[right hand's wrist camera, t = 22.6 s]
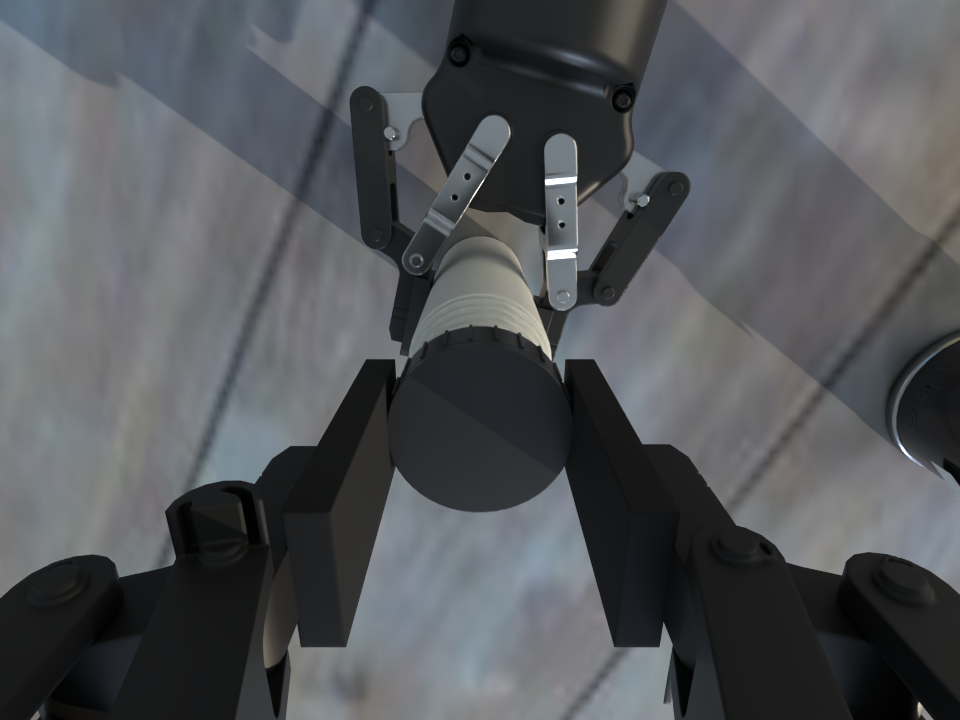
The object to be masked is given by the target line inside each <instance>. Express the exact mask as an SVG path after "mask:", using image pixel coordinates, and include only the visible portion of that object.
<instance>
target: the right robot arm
mask: <svg viewBox="0 0 960 720" xmlns="http://www.w3.org/2000/svg"><path fill="white" fill-rule="evenodd" d="M564 382H565V385H566V387H567V390H568V393H569V395H570V398H571V403H570V405H571V408H572V413H573V432H572V446H571V452H570V455H569V457H568V460H567V462H566V464H565V469H566V473H567V477H568V480H569V484H570V487H571V491H572V495H573V498H574V502H575V506H576V509H577V513H578V517H579V520H580V524H581V527H582V531H583V535H584V538H585V542H586V546H587V549H588V553H589V557H590V560H591V564H592V567H593V571H594V575H595V578H596V582H597V586H598V589H599V593H600V597H601V600H602V604H603V607H604V611H605V615H606V618H607V622H608V626H609V629H610V633H611V637H612V640H613V644H614V647H659V646H660V640H661V634H662V627H663V621H664V624H665V626H666V629H667V631H668V634H669V636H670V639H671V641H672V644H673V647H672V653H671V659H670V665H669V671H668V677H667V683H666V689H665V696H664V704H669V705H671V700H672V699H673V708H674V717H675V720H925V718H924V717H923V716H922V715H921V713H922V710H923V708H925V710H926V711H927V712H928V713H929V715H930V716H931V717H932V718H933V719H934V720H960V594H958V593H957V592H956V591H955V590H954V589H953V588H952V587H951V586H949V585H948V584H947V583H946V582H944V581H943V580H941V579H940V578H939V577H937V576H936V575H935V574H933V573H932V572H930V571H928V570H926V569H924V568H922V567H920V566H918V565H916V564H914V563H912V562H910V561H908V560H905V559H902V558H898V557H896V556H891V555H888V554H880V553H871V552H867V553H861V554H855V555H853V556H852V557H851V558H850V559H849V560H847V561H846V564H845V567H844V571H843V574H842V575H837V574H832V573H828V572H823V571H818V570H814V569H809V568H805V567H800V566H797V565H793V564H790V563H786V561H785V559H784V557H783V556H782V554H781V553H780V551H779V550H778V549H777V547H776V546H775V545H774V544H773V543H771V542H770V541H769V540H767V539H766V538H765V537H763V536H762V535H760V534H758V533H755V532H753V531H751V530H749V529H747V528H744V527H740V526H736V524H735V523H734V521H733V520H732V519H731V517H730V516H729V514H728V513H727V511H726V510H725V509H724V507H723V506H722V504H721V503H720V501H719V500H718V499H717V497H716V496H715V494H714V493H713V491H712V490H711V489H710V487H707V483H706V481H705V480H704V479H703V477H702V476H701V474H699V471H698V470H697V469H696V467H695V466H694V464H693V463H692V461H691V460H690V459H689V457H688V456H686V455H685V454H683V453H682V452H680V451H679V450H677V449H676V448H674V447H673V446H672V445H670V444H642V443H641V441H640V439H639V438H638V436H637V434H636V432H635V431H634V429H633V427H632V425H631V424H630V422H629V420H628V418H627V417H626V415H625V413H624V411H623V409H622V408H621V406H620V404H619V402H618V401H617V399H616V397H615V395H614V394H613V392H612V390H611V388H610V387H609V385H608V383H607V381H606V380H605V378H604V376H603V374H602V373H601V371H600V369H599V367H598V366H597V364H596V362H595V360H594V359H565V375H564ZM395 383H396V369H395V359H366V361H365V363H364V364H363V366H362V368H361V370H360V371H359V373H358V375H357V377H356V379H355V380H354V382H353V384H352V386H351V387H350V389H349V391H348V393H347V394H346V396H345V398H344V400H343V401H342V403H341V405H340V407H339V408H338V410H337V412H336V414H335V415H334V417H333V419H332V421H331V422H330V424H329V426H328V428H327V429H326V431H325V433H324V435H323V437H322V438H321V440H320V442H319V444H318V445H317V446H290V447H289V448H287V449H286V450H284V451H283V452H281V453H280V454H278V455H277V456H275V457H274V458H273V459H272V460H271V461H270V463H269V464H268V466H267V467H266V468H265V470H264V471H263V473H262V476H260V477H259V479H258V480H257V481H256V483H255V484H252V483H248V482H244V481H221V482H216V483H211V484H206V485H204V486H201V487H199V488H196V489H194V490H191V491H189V492H187V493H186V494H184V495H182V496H181V497H179V498H178V499H176V500H175V501H174V502H173V503H172V504H171V505H170V506H169V508H168V509H167V510H166V511H165V514H166V518H167V522H168V526H169V530H170V534H171V538H172V542H173V546H174V550H175V554H176V560H175V562H174V565H172V566H168V567H165V568H161V569H157V570H153V571H148V572H143V573H139V574H134V575H130V576H125V577H120V578H119V576H118V572H117V569H116V566H115V563H113V562H112V561H111V560H110V559H109V558H108V557H104V556H98V555H84V556H75V557H71V558H67V559H64V560H60V561H57V562H54V563H52V564H50V565H48V566H46V567H44V568H42V569H40V570H38V571H36V572H34V573H32V574H30V575H29V576H27V577H26V578H25V579H23V580H22V581H20V582H19V583H18V584H16V585H15V586H14V587H12V588H11V589H10V590H9V591H8V592H7V593H6V594H5V595H4V596H2V597H1V598H0V720H30V719H31V718H32V717H33V715H34V714H35V713H36V712H37V710H38V711H39V714H40V717H39V718H38V720H285V719H286V709H287V700H288V691H289V682H290V673H291V667H290V660H289V653H288V645H289V642H290V640H291V637H292V635H293V632H294V630H295V627H296V625H298V631H299V638H300V644H301V647H346V645H347V642H348V638H349V634H350V631H351V627H352V623H353V620H354V616H355V612H356V609H357V605H358V601H359V598H360V594H361V591H362V587H363V583H364V580H365V576H366V572H367V569H368V565H369V561H370V558H371V554H372V551H373V547H374V543H375V540H376V536H377V532H378V529H379V525H380V521H381V518H382V514H383V511H384V507H385V503H386V500H387V496H388V492H389V489H390V485H391V481H392V478H393V474H394V471H395V467H396V465H395V463H394V461H393V459H392V456H391V454H390V451H389V441H388V426H387V414H388V410H389V406H390V403H391V400H392V398H393V397H390V396H391V393H392V390H393V388H394V385H395Z"/></svg>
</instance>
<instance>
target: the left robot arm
mask: <svg viewBox="0 0 960 720" xmlns="http://www.w3.org/2000/svg"><path fill="white" fill-rule="evenodd" d="M666 3H667V0H455V4H454V9H453V14H452V19H451V24H450V29H449V34H448V39H447V44H446V49H445V53H444V57H443V60H442V62H441V64H440V67H439V68H438V70H437V72H436V73H435V75H434V76H433V77H432V78H431V80H430V81H429V82H428V83H427V85H426V87H425V89H424V91H423V92H400V93H380V92H378V91H376V90H375V89H373V88H371V87H368V86H361V87H359V88H357V89H355V90H354V91H353V93H352V95H351V97H350V112H351V123H352V135H353V146H354V157H355V168H356V179H357V190H358V201H359V213H360V224H361V235H362V239H363V241H364V242H365V244H366V245H367V246H369V247H370V248H373V249H378V250H380V251H382V252H383V253H385V254H386V255H388V256H389V257H391V258H392V259H393V260H394V261H395V262H396V263H397V265H398V268H399V272H400V276H399V282H398V287H397V292H396V297H395V302H394V307H393V312H392V317H391V322H390V327H389V330H390V335H391V339H392V340H394V341H398V342H402V345H401V350H400V355H403V356H407V357H409V350H410V345H411V341H412V338H413V336H414V333H415V330H416V328H417V325H418V322H419V320H420V317H421V314H422V312H423V309H424V307H425V304H426V301H427V299H428V296H429V293H430V291H431V288H432V285H433V281H434V277H435V272H436V271H435V270H432V266H433V261H434V260H435V258H436V257H437V255H438V253H439V252H440V250H441V248H442V247H443V245H444V244H445V242H446V240H447V239H448V237H449V236H450V234H451V232H452V231H453V229H454V228H455V226H456V225H457V223H458V222H459V220H460V218H461V217H462V215H463V213H464V212H465V210H466V209H467V207H468V205H469V208H473V209H477V210H481V211H484V212H509V213H510V214H512V215H514V216H516V217H517V218H519V219H521V220H523V221H524V222H527V223H531V224H535V225H538V228H539V243H540V249H541V267H542V288H541V292H540V295H539V296H535V295H534V297H533V301H534V303H535V306H536V308H537V311H538V314H539V316H540V319H541V322H542V324H543V327H544V330H545V332H546V335H547V338H548V341H549V344H550V349H551V358H552V363H553V360H554V357H555V353H556V350H557V346H558V344H559V341H560V338H561V334H562V331H563V328H564V325H565V322H566V319H567V316H568V314H569V313H570V312H571V311H572V310H573V309H574V308H576V307H578V306H581V305H590V304H599V305H601V306H606V307H608V306H612V305H614V304H616V303H617V302H618V301H619V300H620V298H621V297H622V295H623V294H624V292H625V291H626V289H627V288H628V286H629V285H630V283H631V282H632V280H633V279H634V277H635V275H636V274H637V272H638V271H639V269H640V268H641V266H642V265H643V263H644V262H645V260H646V259H647V257H648V256H649V254H650V253H651V251H652V249H653V248H654V246H655V245H656V243H657V242H658V240H659V239H660V237H661V236H662V234H663V233H664V231H665V230H666V228H667V227H668V225H669V224H670V222H671V220H672V219H673V217H674V216H675V214H676V213H677V211H678V210H679V208H680V207H681V205H682V204H683V202H684V201H685V199H686V198H687V196H688V194H689V192H690V187H691V185H690V180H689V178H688V177H687V176H686V175H685V174H683V173H681V172H675V171H667V170H665V169H663V168H662V167H660V166H659V165H657V164H655V163H654V162H652V161H650V160H649V159H647V158H646V157H644V156H642V155H641V154H639V153H638V152H636V151H634V150H633V149H634V137H633V132H632V112H633V108H634V104H635V101H636V98H637V95H638V92H639V89H640V85H641V82H642V79H643V76H644V73H645V70H646V67H647V63H648V60H649V57H650V54H651V51H652V48H653V44H654V41H655V38H656V35H657V32H658V29H659V25H660V22H661V19H662V16H663V13H664V10H665V7H666ZM421 120H425V122H426V125H427V127H428V129H429V132H430V134H431V137H432V139H433V142H434V144H435V147H436V149H437V152H438V154H439V157H440V159H441V162H442V164H443V167H444V169H445V172H446V174H447V177H448V178H447V180H446V182H445V184H444V185H443V187H442V189H441V190H440V192H439V194H438V195H437V197H436V199H435V200H434V202H433V204H432V205H431V207H430V209H429V210H428V212H427V214H426V216H425V218H424V220H423V221H422V223H421V225H420V226H419V228H418V230H417V231H416V233H415V232H413V231H412V230H410V229H409V228H407V227H406V226H404V225H403V224H401V223H400V222H399V210H398V195H397V179H396V164H395V151H398V150H402V149H404V148H405V147H406V146H407V145H408V143H409V141H410V136H411V130H412V128H413V126H414V125H415V124H416V123H417V122H419V121H421ZM618 173H619V174H620V176H621V178H622V183H623V185H622V189H621V192H620V194H619V204H620V206H621V208H622V209H623V210H625V211H624V213H623V214H622V216H621V218H620V219H619V221H618V222H617V224H616V226H615V227H614V229H613V230H612V232H611V234H610V235H609V237H608V239H607V240H606V242H605V243H604V245H603V247H602V248H601V250H600V251H599V253H598V255H597V256H596V258H595V259H594V261H593V263H592V264H591V266H590V268H589V269H588V270H585V271H577V267H576V256H577V252H578V225H577V207H578V206H579V205H581V204H582V203H583V202H584V201H585V200H587V199H588V198H589V197H590V196H591V195H593V194H594V193H595V192H596V191H597V190H599V189H600V188H601V187H602V186H603V185H605V184H606V183H607V182H608V181H610V180H611V179H612V178H613V177H614V176H616V175H617V174H618ZM886 420H887V428H888V432H889V435H890V437H891V440H892V441H893V443H894V445H895V446H896V447H897V448H898V450H899V451H900V452H902V453H903V454H904V455H905V456H907V457H908V458H910V459H911V460H912V461H914V462H915V463H917V464H919V465H921V466H923V467H925V468H927V469H928V470H930V471H931V472H933V473H934V474H936V475H937V476H938V477H940V478H941V479H943V480H944V481H946V482H947V484H948V485H949V487H950V488H951V489H952V491H953V492H954V493H955V495H956V496H957V497H958V499H959V500H960V331H958V332H955V333H953V334H951V335H948V336H946V337H944V338H943V339H941V340H939V341H937V342H936V343H934V344H932V345H931V346H930V347H928V348H927V349H925V350H924V351H923V352H922V353H921V354H919V355H918V356H917V357H916V358H915V359H914V360H913V361H912V362H911V363H910V364H909V365H908V367H907V368H906V369H905V370H904V372H903V373H902V374H901V376H900V377H899V379H898V380H897V382H896V384H895V386H894V388H893V390H892V393H891V395H890V398H889V402H888V406H887V414H886Z"/></svg>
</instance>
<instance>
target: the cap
mask: <svg viewBox="0 0 960 720" xmlns="http://www.w3.org/2000/svg"><path fill="white" fill-rule="evenodd" d="M390 397H393V398H392V400H391V403H390V406H389V410H388V414H387V426H388V441H389V451H390V454H391V456H392V459H393V461H394V463H395V465H396V467H397V469H398V470H399V472H400V473H401V474H402V476H403V477H404V479H405V480H406V481H407V482H408V483H409V484H410V485H411V486H412V487H413V488H414V489H416V490H417V491H418V492H419V493H420V494H422V495H423V496H425V497H427V498H428V499H430V500H432V501H434V502H436V503H438V504H440V505H443V506H445V507H448V508H451V509H455V510H460V511H466V512H481V513H485V512H495V511H501V510H505V509H509V508H512V507H515V506H518V505H520V504H523V503H525V502H527V501H529V500H531V499H532V498H534V497H535V496H537V495H539V494H540V493H541V492H542V491H544V490H545V489H546V488H547V487H548V486H549V485H550V484H551V483H552V482H553V481H554V480H555V479H556V478H557V476H558V475H559V474H560V472H561V471H562V469H563V467H564V466H565V464H566V462H567V460H568V457H569V455H570V452H571V446H572V432H573V413H572V408H571V405H570V403H571V398H570V395H569V393H568V390H567V387H566V385H565V382H564V383H562V378H561V375H560V373H559V370H558V367H557V365H556V363H555V362H554V363H552V361H551V360H550V359H549V357H548V356H547V355H546V354H545V353H544V352H543V350H542V347H541V346H540V345H538V346H537V345H535V344H534V343H533V342H531V341H530V340H528V339H526V338H525V337H523V336H522V335H521V333H520V332H518V334H516V333H514V332H512V331H509V330H505V329H501V328H498V326H497V325H494V327H489V326H473V325H472V324H471V325H469V327H463V328H459V329H455V330H452V331H448V330H446V331H445V333H444V334H441V335H439V336H438V337H436V338H434V339H432V340H431V341H429V342H427V341H425V342H424V344H423V346H422V347H421V348H420V349H419V350H418V351H417V352H416V353H415V354H414V355H413V357H412V358H410V357H409V358H408V359H407V362H406V364H405V367H404V370H403V372H402V374H401V376H400V377H397V380H396V383H395V385H394V388H393V390H392V393H391V396H390Z"/></svg>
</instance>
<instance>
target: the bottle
mask: <svg viewBox="0 0 960 720" xmlns="http://www.w3.org/2000/svg"><path fill="white" fill-rule="evenodd" d="M471 324H472V325H473V326H489V327H494V325H497V326H498V328H501V329H505V330H509V331H512V332H514V333H516V334H518V332H520V333H521V335H522V336H523V337H525V338H526V339H528V340H530V341H531V342H533V343H534V344H535V345H537V346H538V345H540V346H541V347H542V350H543V352H544V353H545V354H546V355H547V356H548V357H549V359H550V360H551V361H552V358H551V349H550V344H549V341H548V338H547V335H546V332H545V330H544V327H543V324H542V322H541V319H540V316H539V314H538V311H537V308H536V306H535V303H534V301H533V298H532V295H531V293H530V290H529V287H528V285H527V282H526V279H525V277H524V274H523V271H522V269H521V266H520V264H519V261H518V259H517V257H516V256H515V254H514V253H513V251H512V250H511V249H510V248H509V247H508V246H506V245H505V244H504V243H502V242H501V241H498V240H496V239H494V238H490V237H485V236H476V237H470V238H467V239H464V240H462V241H460V242H458V243H457V244H455V245H454V246H453V247H452V248H451V249H449V251H448V252H447V253H446V254H445V256H444V258H443V260H442V262H441V264H440V267H439V270H438V272H437V275H436V277H435V280H434V283H433V285H432V288H431V291H430V293H429V296H428V299H427V301H426V304H425V307H424V309H423V312H422V314H421V317H420V320H419V322H418V325H417V328H416V330H415V333H414V336H413V338H412V341H411V345H410V350H409V357H410V358H412V357H413V355H414V354H415V353H416V352H417V351H418V350H419V349H420V348H421V347H422V346H423V344H424V342H425V341H427V342H429V341H431V340H432V339H434V338H436V337H438V336H439V335H441V334H444V333H445V331H446V330H448V331H452V330H455V329H459V328H463V327H469V325H471Z"/></svg>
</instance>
